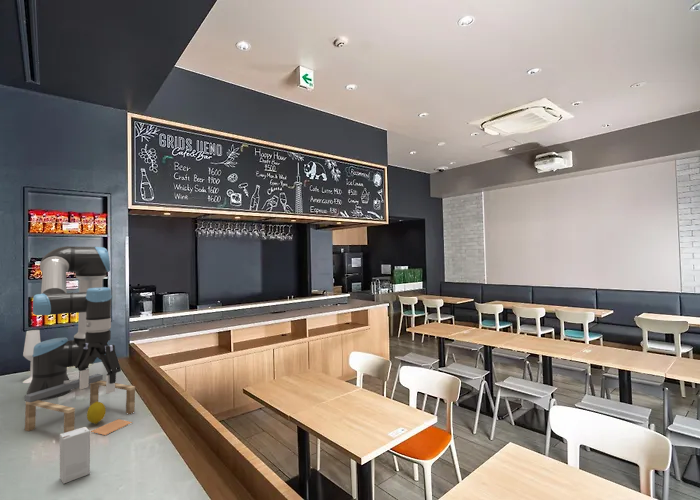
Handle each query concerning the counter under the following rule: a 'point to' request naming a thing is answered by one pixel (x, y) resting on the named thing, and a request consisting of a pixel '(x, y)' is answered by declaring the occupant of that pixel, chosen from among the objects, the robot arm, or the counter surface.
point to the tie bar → (60, 388)
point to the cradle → (70, 412)
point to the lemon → (96, 412)
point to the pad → (111, 427)
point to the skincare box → (74, 454)
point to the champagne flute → (30, 349)
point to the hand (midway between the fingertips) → (97, 390)
